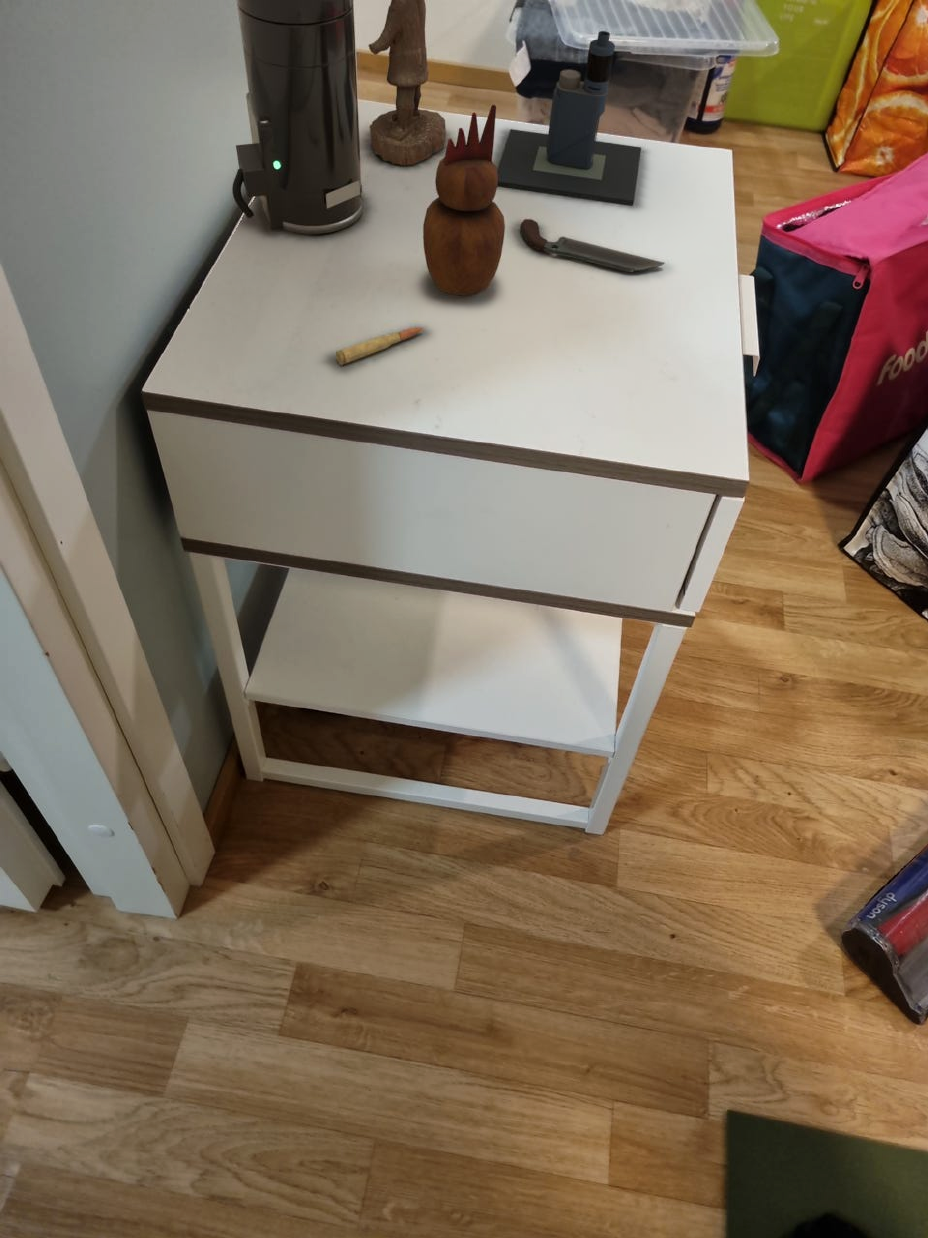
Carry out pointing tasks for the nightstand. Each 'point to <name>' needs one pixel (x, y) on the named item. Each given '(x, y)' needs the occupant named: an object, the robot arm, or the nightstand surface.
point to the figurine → (406, 89)
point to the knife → (585, 250)
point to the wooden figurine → (465, 215)
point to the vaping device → (580, 107)
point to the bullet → (373, 345)
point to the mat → (569, 170)
